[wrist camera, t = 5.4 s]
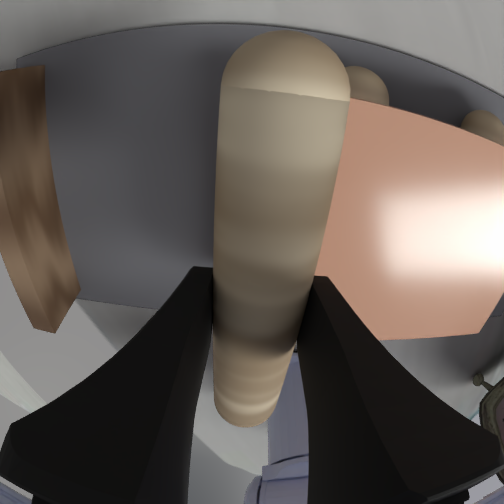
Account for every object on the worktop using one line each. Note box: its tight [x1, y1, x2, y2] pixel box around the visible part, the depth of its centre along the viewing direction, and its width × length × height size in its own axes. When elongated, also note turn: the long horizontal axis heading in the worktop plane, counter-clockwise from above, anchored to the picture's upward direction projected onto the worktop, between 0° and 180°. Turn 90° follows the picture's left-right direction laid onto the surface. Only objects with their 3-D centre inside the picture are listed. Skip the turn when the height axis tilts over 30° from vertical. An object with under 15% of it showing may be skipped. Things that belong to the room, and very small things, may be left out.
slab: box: [314, 97, 504, 340], centre depth 13 cm, size 12×16×2 cm
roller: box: [213, 30, 351, 427], centre depth 9 cm, size 15×3×3 cm, turn 175°
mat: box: [17, 24, 504, 317], centre depth 16 cm, size 18×40×1 cm, turn 86°
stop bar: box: [0, 65, 81, 333], centre depth 14 cm, size 16×2×5 cm, turn 176°
